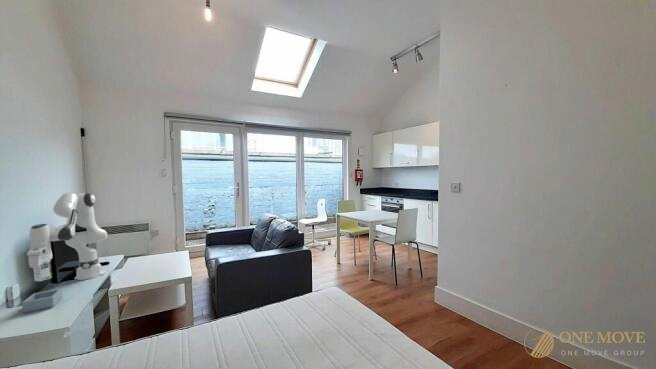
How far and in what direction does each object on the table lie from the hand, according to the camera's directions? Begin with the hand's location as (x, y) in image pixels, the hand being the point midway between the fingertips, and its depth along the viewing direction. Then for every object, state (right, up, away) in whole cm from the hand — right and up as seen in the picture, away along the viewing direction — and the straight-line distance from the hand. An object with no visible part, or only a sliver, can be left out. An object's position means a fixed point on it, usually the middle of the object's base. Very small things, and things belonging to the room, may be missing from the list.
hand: (42, 270), depth 165 cm
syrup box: (0, -7, 0) cm, 7 cm away
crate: (0, -24, +1) cm, 24 cm away
